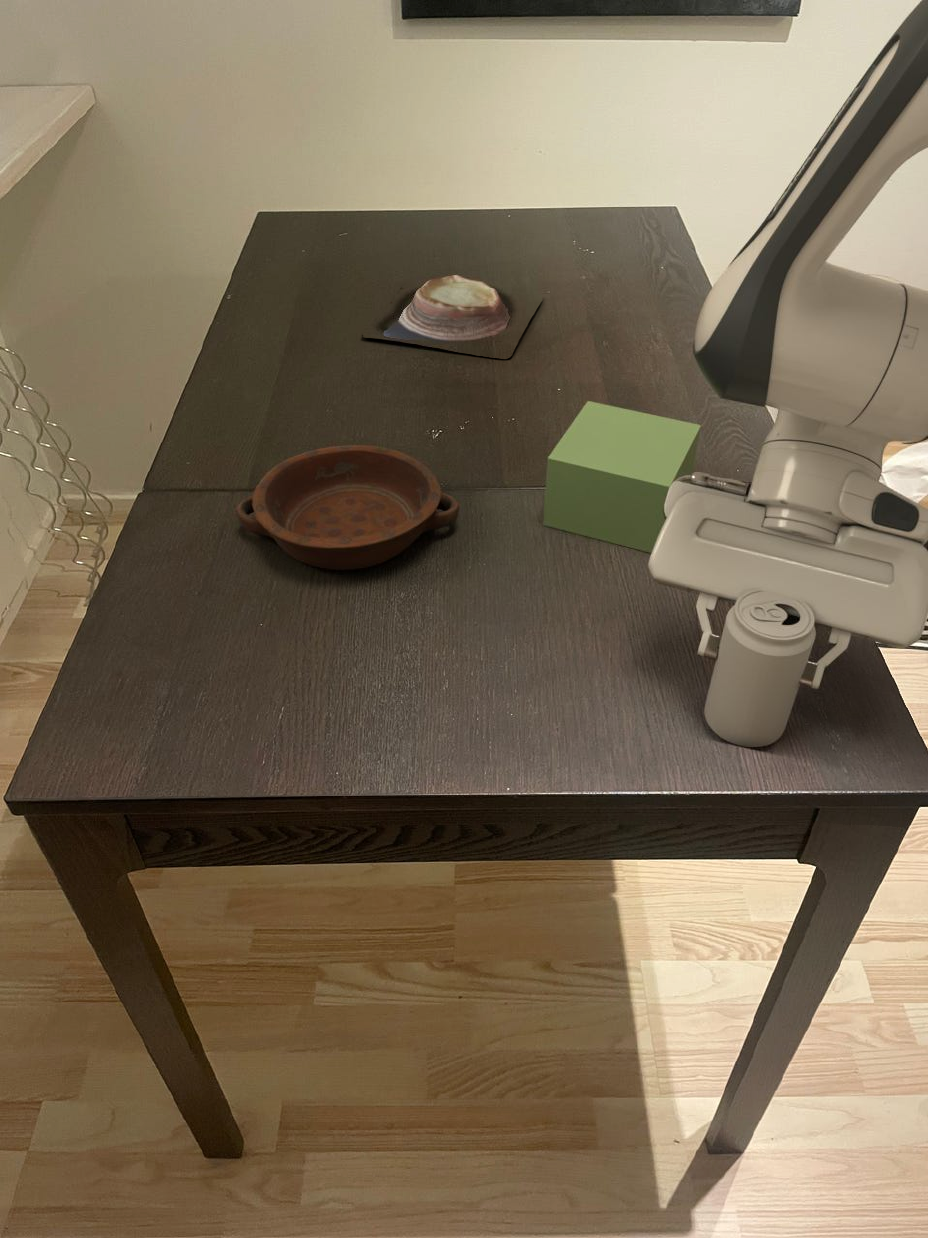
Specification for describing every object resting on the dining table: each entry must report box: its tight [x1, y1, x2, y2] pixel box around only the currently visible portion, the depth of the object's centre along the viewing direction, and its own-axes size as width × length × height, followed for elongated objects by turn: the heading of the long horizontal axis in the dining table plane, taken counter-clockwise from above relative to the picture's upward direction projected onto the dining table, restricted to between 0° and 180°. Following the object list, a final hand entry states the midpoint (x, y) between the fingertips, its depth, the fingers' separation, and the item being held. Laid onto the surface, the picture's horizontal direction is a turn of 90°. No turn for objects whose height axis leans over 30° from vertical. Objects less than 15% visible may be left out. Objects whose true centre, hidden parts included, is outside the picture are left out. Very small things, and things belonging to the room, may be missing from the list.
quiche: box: [383, 274, 510, 342], centre depth 131 cm, size 21×20×4 cm
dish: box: [236, 444, 460, 571], centre depth 94 cm, size 18×22×5 cm
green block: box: [542, 400, 702, 554], centre depth 96 cm, size 12×12×8 cm
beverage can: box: [703, 589, 817, 748], centre depth 73 cm, size 6×6×12 cm
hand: (756, 671), depth 72 cm, fingers closed on beverage can, 6 cm apart
